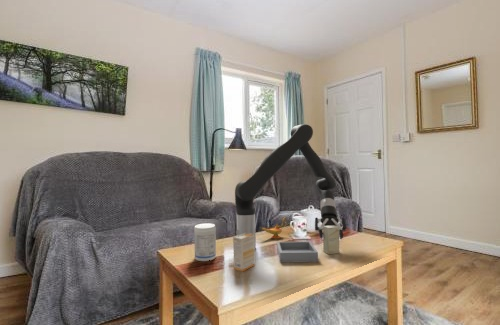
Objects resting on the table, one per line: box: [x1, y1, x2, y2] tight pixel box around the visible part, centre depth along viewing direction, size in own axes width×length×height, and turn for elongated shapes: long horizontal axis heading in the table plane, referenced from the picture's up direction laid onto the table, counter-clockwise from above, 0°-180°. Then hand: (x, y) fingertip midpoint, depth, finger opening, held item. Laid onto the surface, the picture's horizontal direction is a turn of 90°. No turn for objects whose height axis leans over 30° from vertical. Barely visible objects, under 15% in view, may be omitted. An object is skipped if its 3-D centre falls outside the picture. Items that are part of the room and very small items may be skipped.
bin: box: [276, 240, 319, 263], centre depth 122 cm, size 16×16×4 cm
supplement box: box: [232, 233, 256, 272], centre depth 110 cm, size 8×5×13 cm, turn 141°
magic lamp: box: [258, 216, 287, 239], centre depth 153 cm, size 7×18×11 cm, turn 117°
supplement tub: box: [193, 222, 217, 262], centre depth 121 cm, size 10×10×15 cm
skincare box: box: [322, 225, 341, 255], centre depth 126 cm, size 6×4×12 cm
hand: (331, 238), depth 125 cm, fingers open, 8 cm apart
